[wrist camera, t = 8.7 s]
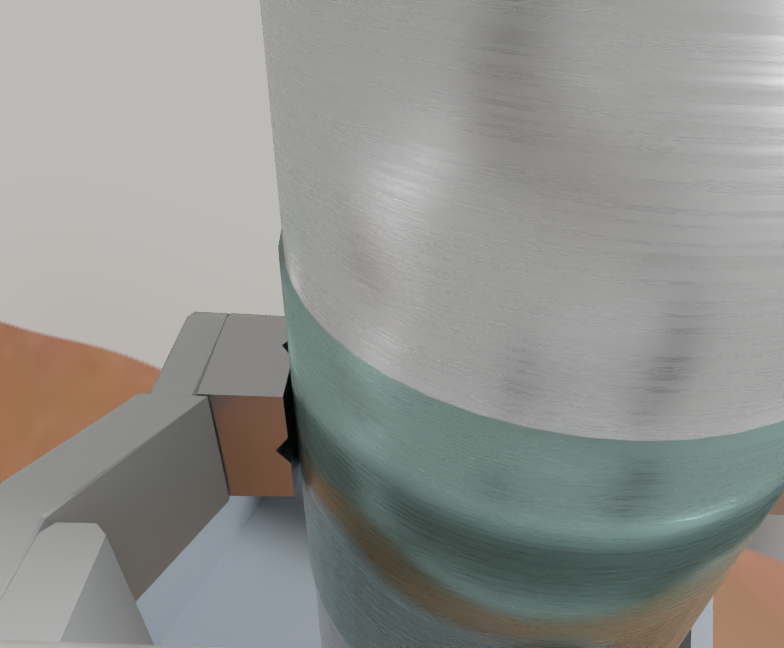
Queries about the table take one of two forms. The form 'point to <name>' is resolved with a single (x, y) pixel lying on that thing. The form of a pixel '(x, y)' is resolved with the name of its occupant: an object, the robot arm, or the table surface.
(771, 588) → the table surface
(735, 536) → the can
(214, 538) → the tote
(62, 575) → the robot arm
